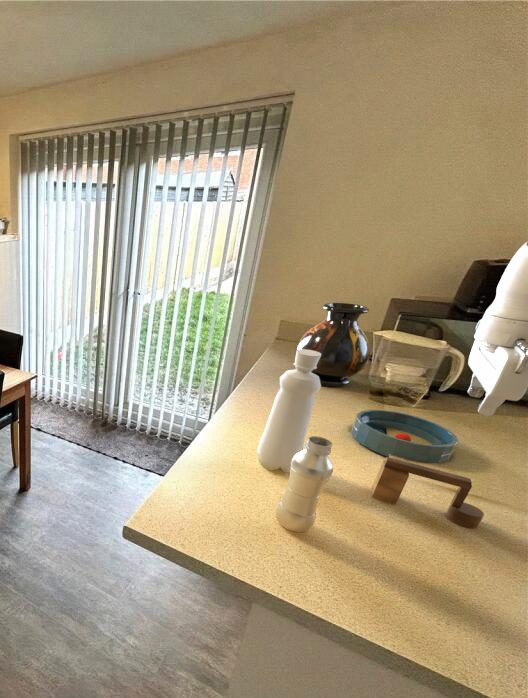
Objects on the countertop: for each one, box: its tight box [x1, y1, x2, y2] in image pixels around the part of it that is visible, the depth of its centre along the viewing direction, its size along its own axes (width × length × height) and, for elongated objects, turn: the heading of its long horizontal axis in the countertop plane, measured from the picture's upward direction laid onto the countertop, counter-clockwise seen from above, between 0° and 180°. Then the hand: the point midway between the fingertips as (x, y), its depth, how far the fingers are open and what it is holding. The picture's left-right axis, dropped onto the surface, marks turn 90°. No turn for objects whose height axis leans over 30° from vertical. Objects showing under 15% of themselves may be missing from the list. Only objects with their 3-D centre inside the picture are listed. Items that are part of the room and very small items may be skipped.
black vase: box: [294, 302, 371, 388], centre depth 142 cm, size 22×22×28 cm
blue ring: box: [350, 409, 459, 463], centre depth 105 cm, size 20×20×6 cm
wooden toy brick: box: [371, 459, 410, 505], centre depth 86 cm, size 4×4×8 cm
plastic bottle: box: [275, 435, 334, 533], centre depth 76 cm, size 6×7×20 cm
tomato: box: [394, 432, 412, 442], centre depth 104 cm, size 3×3×3 cm
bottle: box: [256, 349, 322, 474], centre depth 93 cm, size 9×9×30 cm
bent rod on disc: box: [384, 456, 485, 529], centre depth 82 cm, size 16×5×9 cm, turn 51°
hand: (478, 404), depth 73 cm, fingers open, 8 cm apart
